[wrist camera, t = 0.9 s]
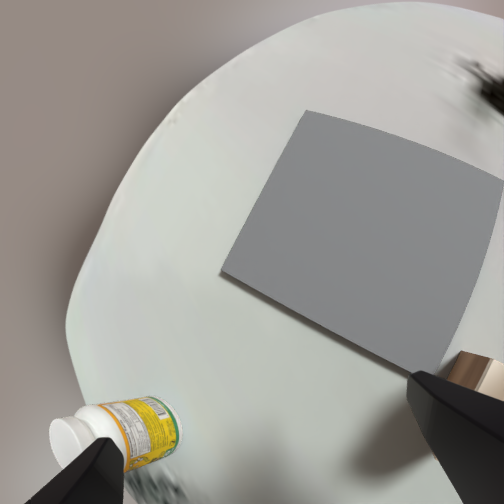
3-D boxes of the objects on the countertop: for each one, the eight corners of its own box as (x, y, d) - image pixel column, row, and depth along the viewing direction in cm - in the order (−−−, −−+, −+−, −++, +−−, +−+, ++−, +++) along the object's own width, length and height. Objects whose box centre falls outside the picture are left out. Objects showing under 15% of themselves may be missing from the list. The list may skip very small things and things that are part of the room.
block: (496, 368, 14) (538, 381, 9) (457, 437, 14) (481, 478, 8) (461, 350, 16) (493, 359, 10) (421, 421, 16) (435, 459, 10)
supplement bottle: (177, 393, 23) (78, 409, 14) (191, 455, 21) (101, 494, 12) (130, 396, 24) (37, 406, 16) (142, 452, 23) (55, 478, 14)
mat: (502, 184, 16) (504, 181, 16) (428, 380, 16) (430, 381, 16) (307, 114, 24) (305, 109, 23) (224, 271, 23) (220, 269, 23)
